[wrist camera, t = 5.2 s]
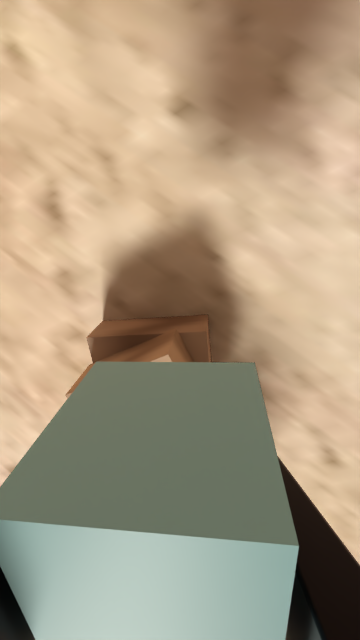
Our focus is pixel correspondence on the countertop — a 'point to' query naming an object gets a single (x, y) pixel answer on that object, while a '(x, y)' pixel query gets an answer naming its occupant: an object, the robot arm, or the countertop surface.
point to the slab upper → (149, 353)
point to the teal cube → (152, 510)
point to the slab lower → (150, 335)
